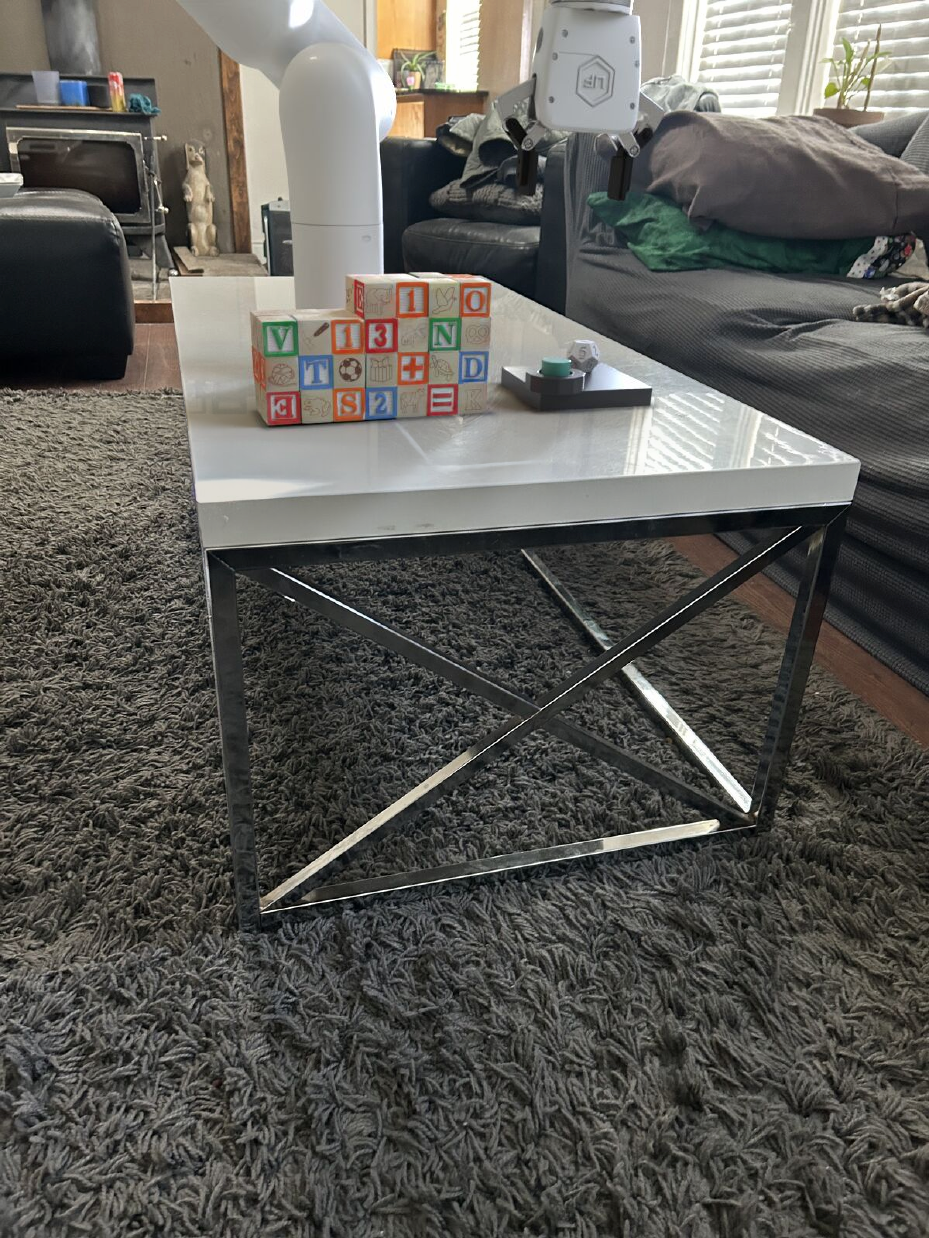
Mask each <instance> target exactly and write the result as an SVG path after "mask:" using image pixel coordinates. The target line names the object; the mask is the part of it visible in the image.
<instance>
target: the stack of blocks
mask: <svg viewBox="0 0 929 1238" xmlns="http://www.w3.org/2000/svg"><path fill="white" fill-rule="evenodd" d="M345 287H346V308H345V309H318V310H316V309H296V308H295V309H265V310H264V309H259V310H250V311H249V316H250V317H249V318H250V319H249V320H250V338H251V359H252V373H253V383H254V395H255V406H256V407H255V408H256V410H257V412H258V413H259V415H260V416H261V418H262V419H263V421H264V423H266V425H267V426H277V425H292V424H293V425H294V424H316V423H317V424H318V423H332V422H352V421H354V422H355V421H365V420H366V421H367V420H383V419H385V420H386V419H396V418H399V419H400V418H418V417H435V416H437V417H438V416H454V415H470V414H485V413H487V407H488V406H487V405H488V404H487V401H488V376H489V361H490V360H489V357H490V348H491V333H492V316H491V303H492V302H491V301H492V282H491V281H489V280H488V279H487V280H486V279H484V278H482V277H478V276H475V275H472V274H467V273H465V274H463V273H462V274H461V273H460V274H456V273H455V274H452V273H451V274H450V273H449V274H447V273H445V274H442V273H440V272H408V273H384V274H378V275H375V274H355V275H345Z"/></svg>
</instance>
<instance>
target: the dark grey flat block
mask: <svg viewBox="0 0 929 1238" xmlns="http://www.w3.org/2000/svg"><path fill="white" fill-rule="evenodd" d="M541 367H542V365H521V366H519V365H516V366H501V372H500V373H501V374H500V385H502V386H503V387H504V388H506V389H508V390H509V391H510V392H512V393H513V394H514V395H515V396H516V397H519V398H520V399H522V400H523V401H524V402H525V403H527V404H528V405H530V406H531V407H533V408H534V409H536V410H537V411H538V412H555V411H573V410H574V411H575V410H576V411H577V410H595V409H612V408H613V409H615V408H617V409H618V408H634V407H651V404H652V403H651V402H652V398H653V397H652V396H653V387H652V386H650V385H647V384H646V383H643V382H642V381H640V380H638V379H636V378H634V377H632V376H629V375H628V374H626V373H624V372H622V371H620V370H618V369H616V368H614V367H612V366H610V365H608V364H606V363H603V362H601V363H599V362H598V364H597V365H596V366H595V368H594V369H593V371H592V372H582V371H580V370H578V369H574V368H570V375H568V376H549V375H544V374H541Z"/></svg>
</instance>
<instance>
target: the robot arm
mask: <svg viewBox="0 0 929 1238" xmlns="http://www.w3.org/2000/svg"><path fill="white" fill-rule="evenodd" d="M175 1H176V2H177V3H178V5H179V6H180V7H182V8H183V10H184V11H185V12H186V13H187V14H188V15H189V16H190V17H191V18H192V19H193V20H194V21H195V22H196V23H197V24H198V25H199V27H200V28H201V29H202V30H203V31H204V32H205V33H206V35H207V36H208V37H209V38H210V39H211V40H212V41H213V43H214V44H216V46H217V47H218V48H219V50H220V51H222V53H223V54H224V55H226V57H228V58H229V59H231V60H232V61H234V62H235V63H237V64H240V65H242V66H245V67H247V68H250V69H254V70H258V71H259V72H261V73H262V74H263V75H264V77H266V78H267V79H268V80H269V82H271V84H272V85H274V87H275V88H276V89H277V90H279V94H278V115H279V117H278V118H279V125H280V133H281V139H282V144H283V145H282V146H283V150H284V157H285V164H286V173H287V174H286V175H287V186H288V198H289V199H288V200H289V202H288V203H289V217H290V225H291V228H290V229H291V245H292V246H291V247H292V265H293V285H294V303H295V310H296V309H316V310H318V309H345V308H346V287H345V275H355V274H375V275H378V274H385V272H384V271H385V269H384V221H383V220H384V219H383V216H384V215H383V214H384V213H383V210H384V209H383V186H382V185H383V184H382V183H383V182H382V169H381V168H382V167H381V156H380V143H382V142H383V141H384V139H385V138H386V137H387V136H388V135H389V133H390V131H391V130H392V127H393V125H394V122H395V119H396V112H397V99H396V97H397V96H396V92H395V87H394V85H393V82H392V80H391V78H390V76H389V75H388V73H387V71H386V69H385V68H384V67H383V66H382V65H381V63H380V62H379V61H378V59H376V58H375V56H374V55H372V53H371V52H370V51H369V50H368V49H367V48H366V47H365V45H364V44H362V42H361V41H359V39H357V37H356V36H355V34H354V33H353V32H351V30H350V29H349V28H348V27H347V26H346V25H345V24H344V23H343V22H342V21H341V20H340V19H339V18H338V16H337V15H336V14H335V13H334V12H333V11H332V10H331V9H330V8H329V7H328V6H327V5H326V3H324V1H323V0H175ZM633 3H634V0H548V4H550V7H548V8H546V9H544V10H543V13H542V16H541V20H540V24H539V28H538V32H537V37H536V40H535V46H534V50H533V57H532V61H531V66H530V67H531V68H530V74H529V79H526V80H525V81H523V82H521V83H519V84H517V85H514V86H513V87H512V88H509V89H508V90H505V91H504V92H502V93H500V94H498V95H496V96H495V97H494V99H493V104H494V106H495V110H496V113H497V115H498V118H499V120H500V123H501V129H502V131H504V133H505V134H506V135H507V137H508V138H509V139H510V141H511V142H512V144H513V147H514V148H515V150H517V154H516V165H515V166H516V168H515V187H518V195H519V196H525V197H534V196H535V195H536V193H537V182H538V171H539V170H538V169H539V159H540V158H539V157H540V155H539V152H538V150H536V145H537V144H538V143H539V142H540V141H541V139H542V138H543V137H544V135H545V134H546V133H547V132H548V131H553V132H554V131H556V132H572V133H582V134H583V133H584V134H585V133H586V134H600V135H601V134H602V135H603V134H605V135H607V136H608V138H609V140H610V142H611V143H612V145H613V147H614V149H615V151H616V153H615V155H612V157H611V159H610V165H609V175H608V184H607V193H606V197H607V198H608V200H612V201H618V202H625V201H626V198H627V193H628V192H629V191H630V189H631V185H632V184H631V183H632V174H633V166H634V159H635V158H637V157H638V156H639V155H640V152H641V150H643V148H644V147H645V146H646V145H648V143H650V141H651V140H652V139H653V137H654V133H655V132H656V131H657V129H658V127H659V125H660V124H661V122H662V120H663V118H664V117H665V110H664V108H663V107H661V106H660V105H659V104H658V103H657V102H655V101H654V100H652V98H650V96H648V95H646V94H645V93H644V92H643V91H642V90H641V76H642V75H641V74H642V73H641V72H642V34H641V19H640V18H641V17H640V15H636V14H632V10H633ZM524 100H526V120H527V123H526V125H525V126H524V127H523V126H522V124H521V123H520V121H519V120H518V119H517V117H516V112H515V106H516V105H517V104H518V103H520V102H523V101H524ZM638 113H640V114H641V115H642V116H643V118H642V121H641V124H640V126H639V127H638V128H637V129H636V130H635V131H634V132H632V131H633V130H634V129H635V127H636V126H637V121H638Z"/></svg>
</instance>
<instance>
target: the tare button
mask: <svg viewBox="0 0 929 1238" xmlns="http://www.w3.org/2000/svg"><path fill="white" fill-rule="evenodd" d="M570 363H571V361H570V360H569V359H566V357H557V356H549V357H544V358H543V357H542V359H541V366H542V367H541V374H544V375H549V376H568V375H570Z"/></svg>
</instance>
